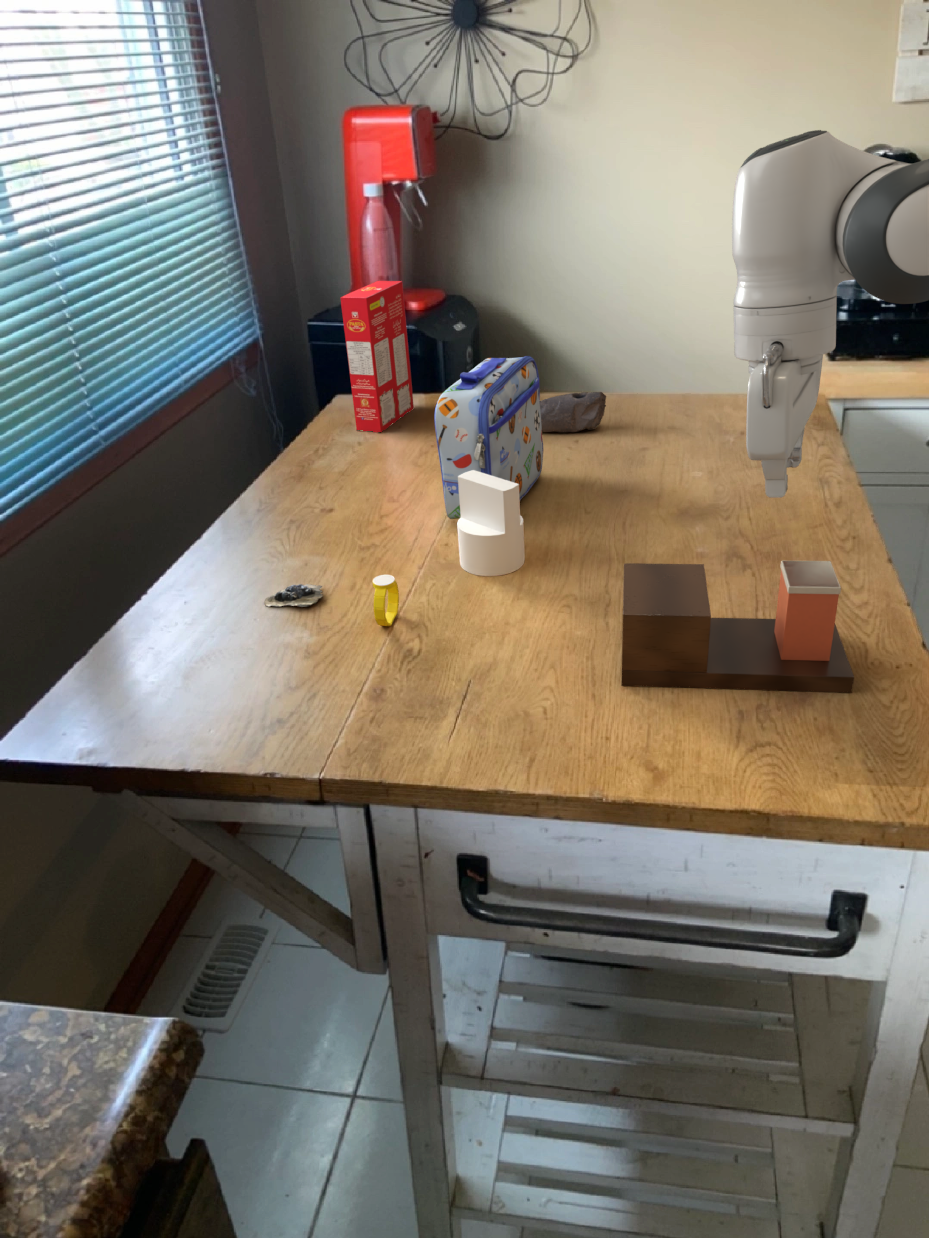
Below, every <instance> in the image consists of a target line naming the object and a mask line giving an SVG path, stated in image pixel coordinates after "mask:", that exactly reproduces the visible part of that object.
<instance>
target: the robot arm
mask: <svg viewBox="0 0 929 1238" xmlns="http://www.w3.org/2000/svg"><path fill="white" fill-rule="evenodd" d="M732 199H733V200H732V212H731V213H732V218H731V253H732V259H733V262H734V266H735V269H736V279H737V281H736V282H737V283H736V288H735V292H734V295H733V299H732V301H733V302H732V303H733V305H732V306H733V307H732V308H733V309H732V310H733V353H734V357H735V358H736V359H738V360H741V361H747V362H748V374H749V378H748V383H747V392H746V393H747V394H746V422H745V423H746V425H745V426H746V427H745V428H746V429H745V430H746V431H745V433H746V434H745V435H746V437H745V439H746V440H745V445H746V447H745V448H746V453H747V457H748V459H749V460H751V461H758V462H759V461H761V462H760V463H761V469H762V473H763V477H764V489H765V490H764V491H765V496H766V497H768V498H774V499H775V498H777V499H779V498H780V499H782V498H784V497H785V496H786V494H787V492H788V487H789V486H788V482H789V475H788V472H787V471H788V468H794V469H795V468H798V467H799V466H800V464H801V462H802V460H803V457H802V456H803V441H804V435H805V429H806V426H807V424H808V422H809V419H810V417H811V415H812V414H813V412H814V410H815V408H816V405H817V403H818V402H817V401H818V397H819V392H820V387H821V386H820V385H821V376H822V369H823V358H824V355H826V354H828V353H831V352H833V351H834V350H835V349H836V347H837V345H836V344H837V303H838V302H837V298H838V297H837V295H838V286H839V285H840V284H841V283H843V282H845V281H846V282H847V281H854V280H855V282H856V283H857V284H858V285H859V286H860V287H861V288H862V289H863V291H864V292H866V293H868V294H869V295H871V296H872V297H874V298H876V299H878V300H880V301H884V302H886V303H892V304H898V305H911V304H919V303H920V304H921V303H924V302H928V301H929V158H927V159H924V160H920V161H917V162H914V163H908V162H904V161H899V160H895V159H890V158H887V157H883V156H880V155H876V154H873V153H870V152H868V151H864V150H861V149H859V148H857V147H854V146H852V145H850V144H848V143H845V142H844V141H841V140H840V139H838V138H837V137H835V136H834V135H832V134H831V132H830V131H827V130H821V129H817V130H810V131H805V132H803V133H801V134H797V135H794V136H790V137H787V138H783V139H781V140H778V141H776V142H773V143H770V144H767V145H765V146H763V147H760V148H758V149H756V150H754V152H752V153H751V154H750V155H748V156H747V158H746V159H745V160H744V161H743V163H742V164H741V166H740V167H739V168H738V171H737V174H736V177H735V181H734V190H733V198H732Z"/></svg>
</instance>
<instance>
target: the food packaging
mask: <svg viewBox="0 0 929 1238" xmlns="http://www.w3.org/2000/svg"><path fill="white" fill-rule="evenodd" d="M404 296H405V295H404V284H403V281H402V280H401V281H400V280H376V281H374V282H372V283H370V284H367V285H365V286H363V287H360V288H358V289H356V290H354V291H351V292H349V293H347V294H345V295H343V296H341V297H340V306H341V313H342V314H341V315H342V321H343V331H344V338H345V347H346V353H347V362H348V371H349V379H350V388H351V396H352V403H353V413H354V420H355V427H356V428H355V429H356V431H357V430H363V431H362V432H366V431H373V432H372V433H378V432H381V433H383V432H384V431H386V430H387V429H388V428H390V427H391V426H392V425H393V424H392V423H394V424H396V423H397V422H398V421H399V420H400V419H399V418H400V417H402V418H404V417H405V416H406V415H407V414H406V413H407V412H409V411H410V412H412V411H413V410H414V409H415V406H414V396H413V385H412V384H413V383H412V372H411V371H412V370H411V361H410V352H409V342H408V341H409V339H408V329H407V327H408V326H407V317H406V305H405V297H404ZM413 408H414V409H413ZM412 409H413V410H412ZM411 410H412V411H411ZM410 412H409V413H410ZM405 414H406V415H405ZM404 415H405V416H404ZM398 419H399V420H398ZM397 420H398V421H397ZM396 421H397V422H396ZM391 424H392V425H391ZM390 425H391V426H390ZM389 426H390V427H389ZM383 430H384V431H383ZM382 431H383V432H382Z"/></svg>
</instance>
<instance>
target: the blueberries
mask: <svg viewBox="0 0 929 1238" xmlns="http://www.w3.org/2000/svg"><path fill="white" fill-rule="evenodd" d="M322 588H323V585H321V584H320V585H319V584H318V585H317V584H311V583H306V584H302V583H299V584H292V585H290V586H287V587H286V588H284V589H282V590H278V591H277V592H276V593H273V594H272V595H269V596H267V597H266V598H265V599H264V602H263V603H264V605H265V606H267V607H271V606H272V607H282V606H283V607H284V606H291V607H292V606H293V607H294V606H297V607H301V608H303V607H305V608H307V607H310V606H312V605H313V604H317V603H318V601H319V599H322V597H324V594H323V590H321V589H322Z"/></svg>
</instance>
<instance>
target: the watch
mask: <svg viewBox="0 0 929 1238" xmlns="http://www.w3.org/2000/svg"><path fill="white" fill-rule="evenodd" d="M372 587H373V588H374V589H375V590H374V595H373V616H374V619H375V622H376V624H377V625H378V626H381V627H391V626H393V622H394V621H395V619H396V617H397V615H398V613H399V603H400V591H399V585H398V582H397V580H396V578H395V577H394V576H393V575H391V574H380V575H377V576H375V577H373V579H372ZM386 596H387V607H386Z"/></svg>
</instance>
